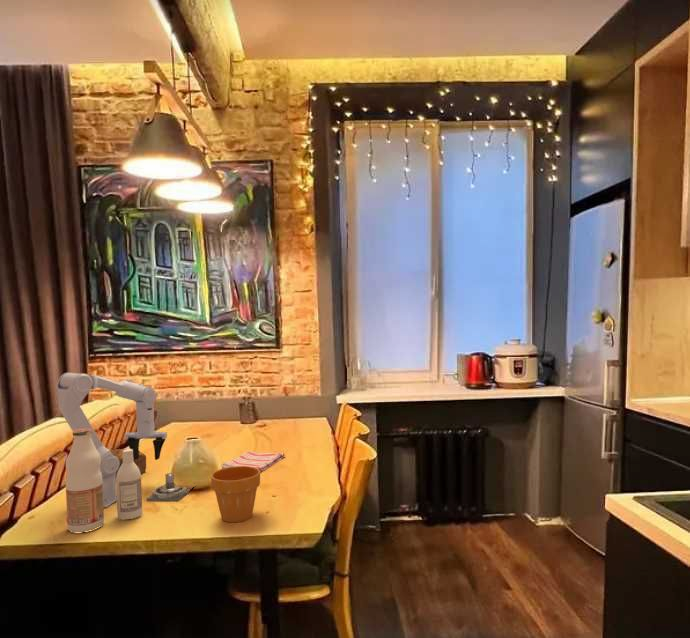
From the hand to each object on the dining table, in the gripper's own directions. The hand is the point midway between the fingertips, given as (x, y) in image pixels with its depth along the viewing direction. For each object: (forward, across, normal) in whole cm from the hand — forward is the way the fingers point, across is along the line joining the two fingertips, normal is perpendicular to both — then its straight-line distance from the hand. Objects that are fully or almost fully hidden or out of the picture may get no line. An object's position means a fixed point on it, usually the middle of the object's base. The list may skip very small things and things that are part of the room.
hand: (146, 459), depth 182 cm
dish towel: (+11, -31, -28) cm, 43 cm away
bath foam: (+10, -7, +26) cm, 29 cm away
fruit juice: (+10, +2, +34) cm, 36 cm away
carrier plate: (+10, -12, +6) cm, 16 cm away
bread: (+10, +18, -13) cm, 24 cm away
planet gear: (+9, -12, +8) cm, 16 cm away
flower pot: (+10, -40, +26) cm, 49 cm away
